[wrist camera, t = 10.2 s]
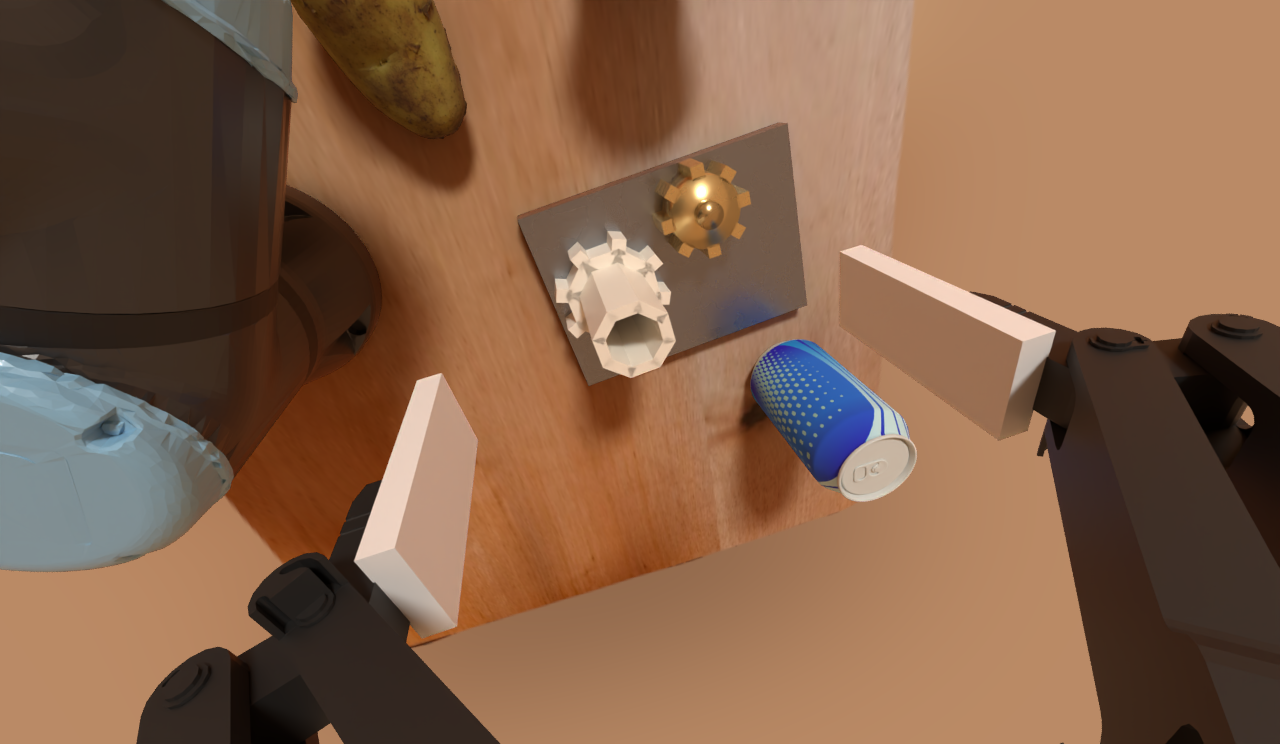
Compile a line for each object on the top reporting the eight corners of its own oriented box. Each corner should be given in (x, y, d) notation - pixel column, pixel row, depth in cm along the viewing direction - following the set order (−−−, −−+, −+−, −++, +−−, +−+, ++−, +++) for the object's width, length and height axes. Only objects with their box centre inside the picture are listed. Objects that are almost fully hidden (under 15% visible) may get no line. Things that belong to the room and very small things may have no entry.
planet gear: (578, 348, 43) (593, 415, 34) (539, 255, 38) (544, 304, 29) (672, 314, 43) (711, 371, 34) (645, 217, 38) (682, 254, 29)
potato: (352, 142, 33) (308, 154, 26) (269, -116, 26) (182, -189, 20) (477, 133, 34) (466, 143, 27) (427, -115, 28) (396, -183, 21)
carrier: (586, 377, 46) (594, 413, 41) (517, 215, 37) (516, 234, 32) (799, 299, 47) (833, 324, 42) (778, 122, 38) (818, 126, 33)
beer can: (773, 322, 47) (874, 413, 34) (834, 348, 51) (949, 441, 37) (730, 390, 50) (807, 499, 37) (790, 411, 54) (881, 518, 40)
